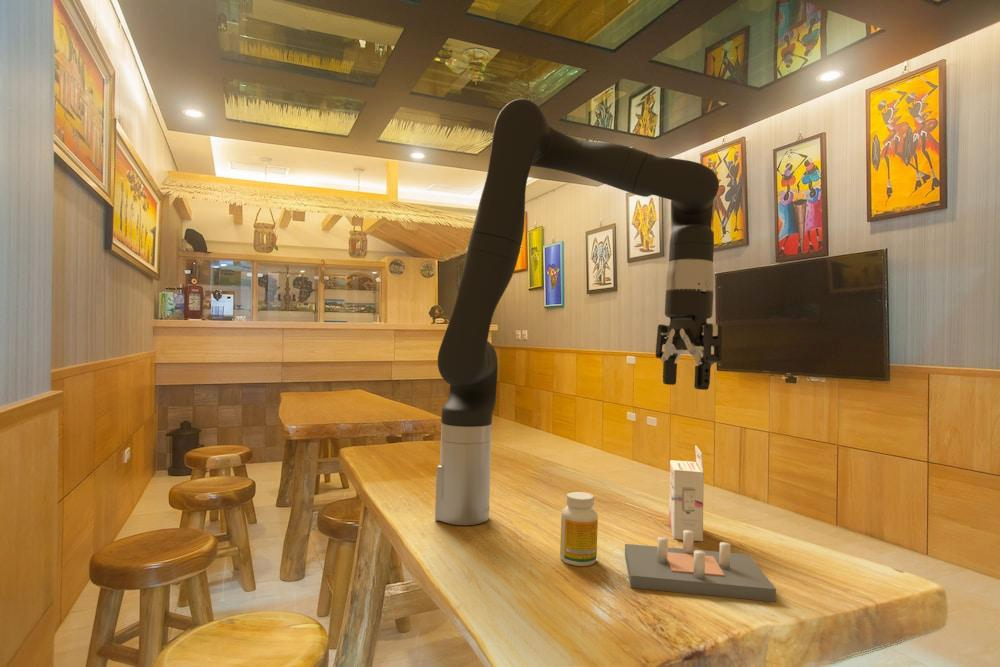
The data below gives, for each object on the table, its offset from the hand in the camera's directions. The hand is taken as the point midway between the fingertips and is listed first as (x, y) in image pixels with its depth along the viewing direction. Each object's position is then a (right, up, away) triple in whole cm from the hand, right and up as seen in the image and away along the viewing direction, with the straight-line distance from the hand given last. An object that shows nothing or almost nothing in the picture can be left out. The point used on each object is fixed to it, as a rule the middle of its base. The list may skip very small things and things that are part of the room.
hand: (684, 386), depth 91 cm
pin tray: (-3, -25, -14) cm, 29 cm away
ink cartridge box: (+2, -26, +5) cm, 27 cm away
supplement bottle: (-19, -25, -9) cm, 33 cm away
